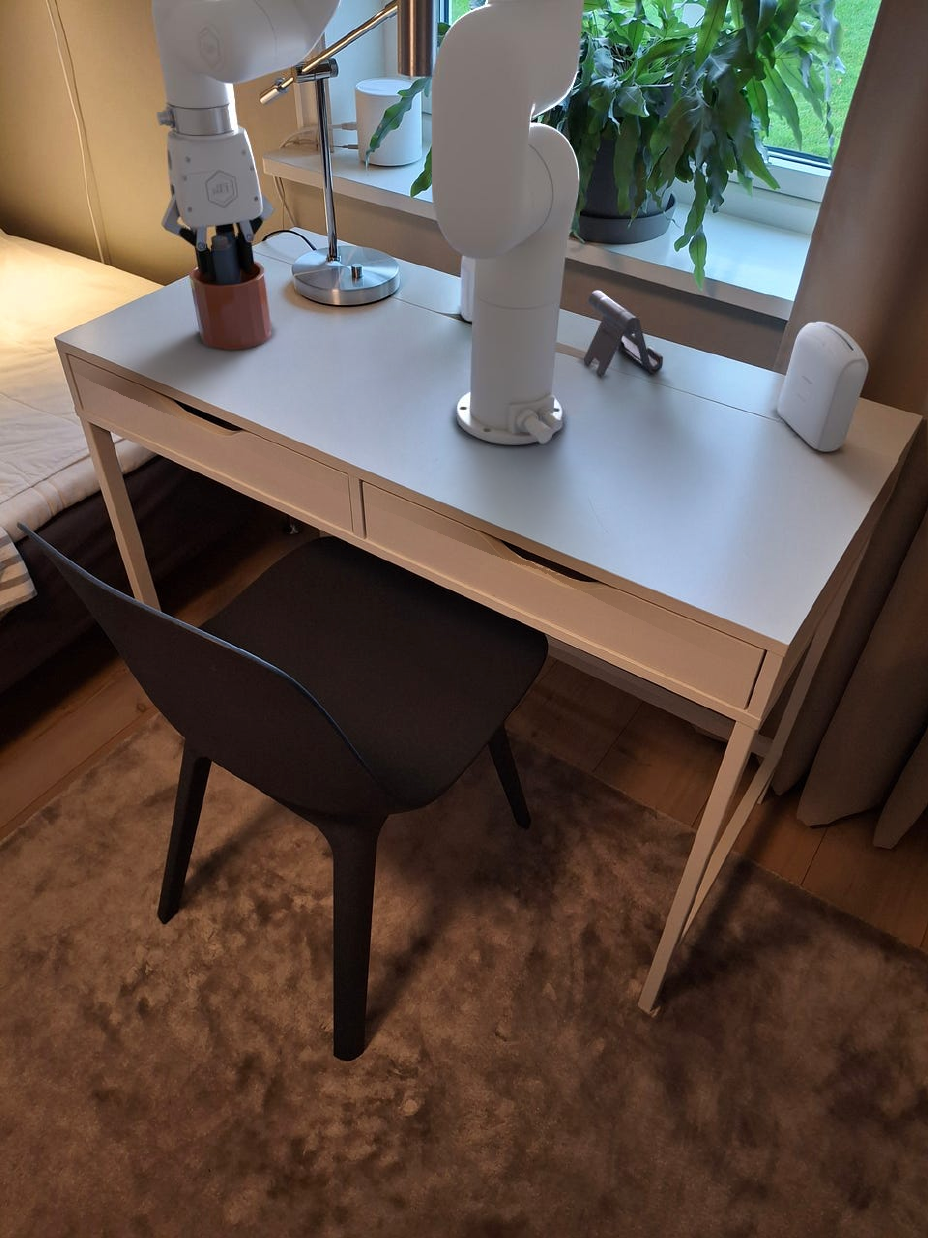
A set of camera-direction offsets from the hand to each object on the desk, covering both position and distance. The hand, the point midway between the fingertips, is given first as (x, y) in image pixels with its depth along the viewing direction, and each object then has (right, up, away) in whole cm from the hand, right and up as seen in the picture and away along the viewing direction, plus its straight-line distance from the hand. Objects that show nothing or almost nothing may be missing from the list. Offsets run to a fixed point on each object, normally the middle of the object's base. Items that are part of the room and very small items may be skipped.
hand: (227, 272), depth 119 cm
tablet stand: (+51, -11, +2) cm, 52 cm away
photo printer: (+71, -22, -9) cm, 75 cm away
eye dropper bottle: (+33, -2, +11) cm, 35 cm away
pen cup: (0, -6, +6) cm, 8 cm away
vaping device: (0, -3, +2) cm, 4 cm away
